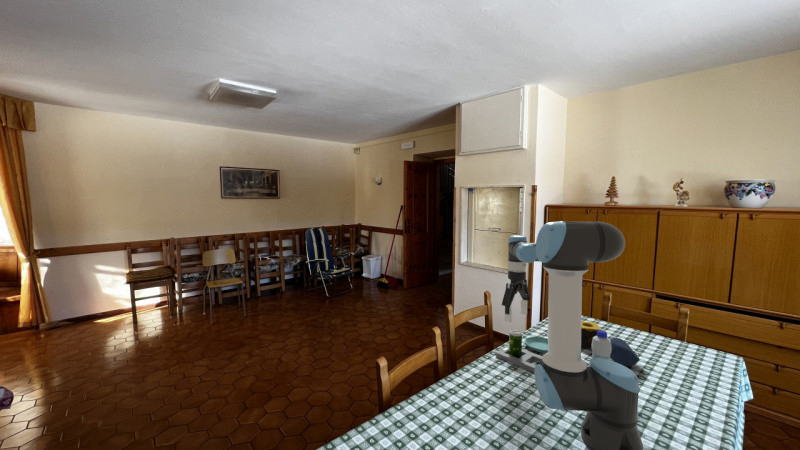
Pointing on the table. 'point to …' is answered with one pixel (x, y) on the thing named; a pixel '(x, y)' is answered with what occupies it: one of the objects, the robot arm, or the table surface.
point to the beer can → (515, 343)
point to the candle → (588, 333)
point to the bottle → (601, 346)
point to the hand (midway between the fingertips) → (516, 317)
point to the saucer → (537, 344)
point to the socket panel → (522, 360)
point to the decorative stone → (622, 353)
